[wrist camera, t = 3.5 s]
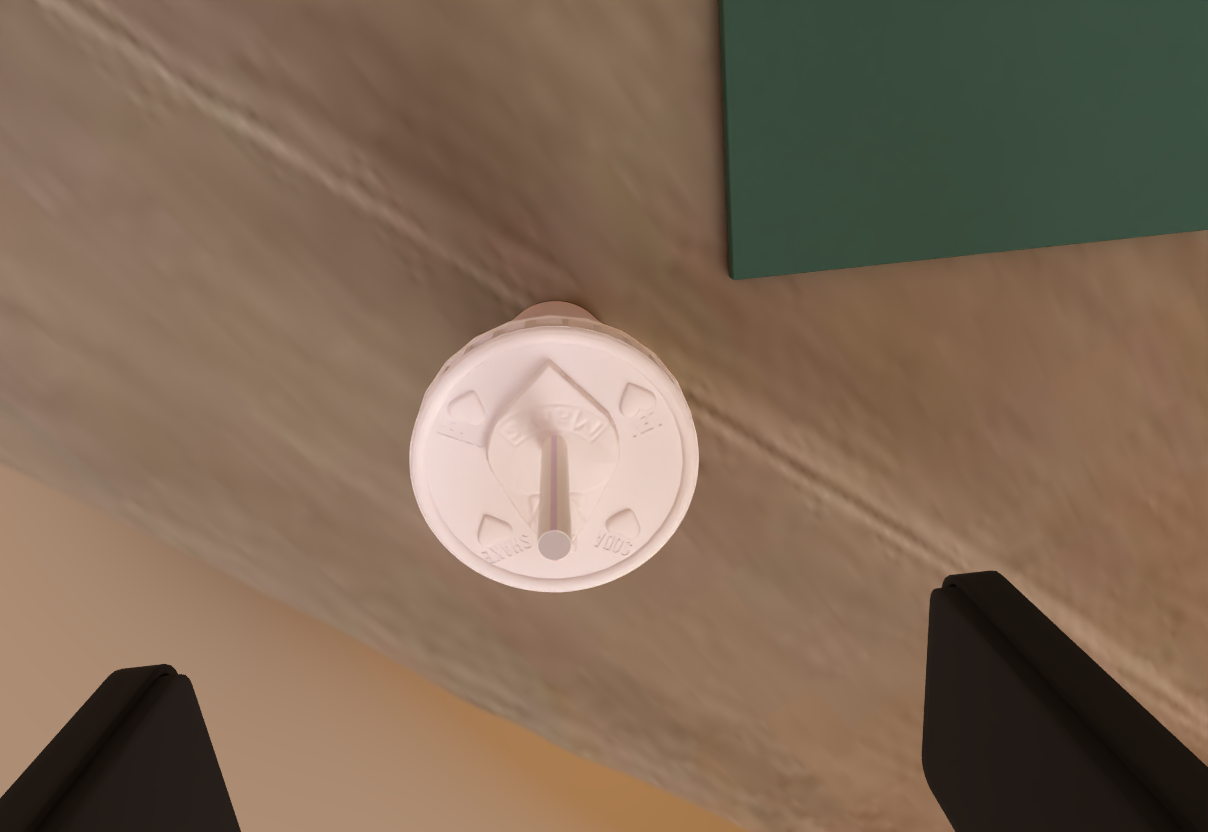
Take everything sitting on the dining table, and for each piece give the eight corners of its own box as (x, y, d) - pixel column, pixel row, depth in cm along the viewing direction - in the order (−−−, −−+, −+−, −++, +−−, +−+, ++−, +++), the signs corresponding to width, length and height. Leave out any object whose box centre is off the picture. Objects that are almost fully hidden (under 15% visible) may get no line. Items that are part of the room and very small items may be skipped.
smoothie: (649, 255, 24) (760, 377, 11) (650, 439, 26) (745, 723, 13) (451, 263, 24) (324, 396, 11) (468, 447, 26) (380, 748, 13)
